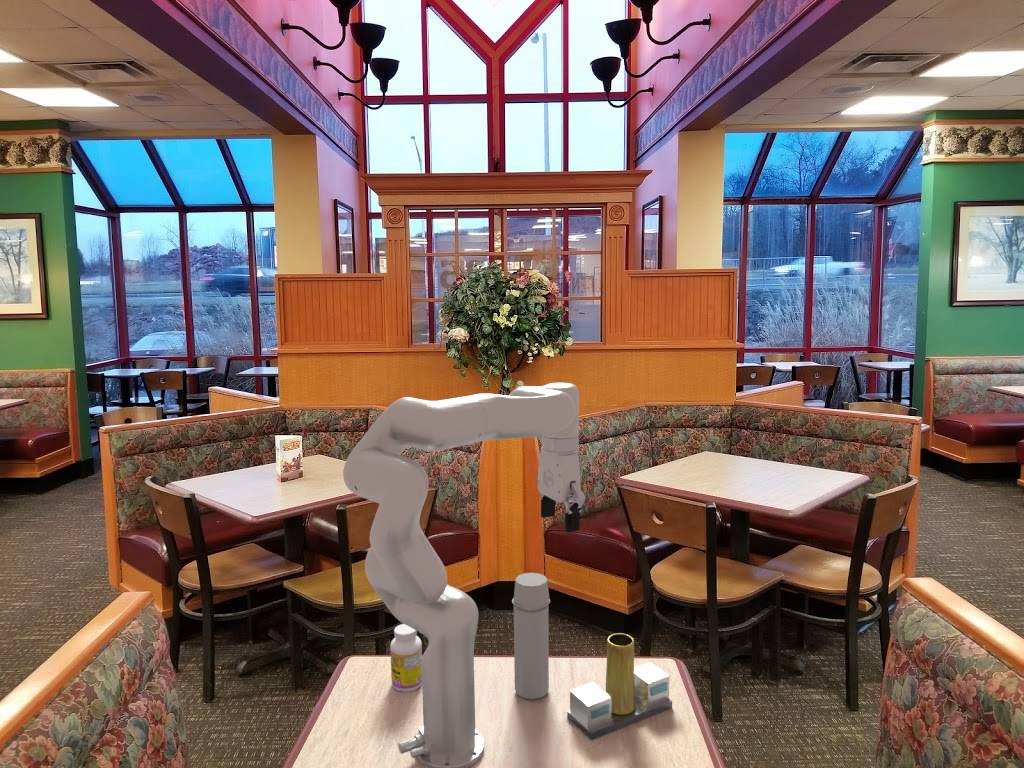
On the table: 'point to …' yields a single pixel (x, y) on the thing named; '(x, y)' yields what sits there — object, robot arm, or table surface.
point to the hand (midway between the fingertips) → (559, 523)
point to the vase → (620, 673)
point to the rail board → (623, 718)
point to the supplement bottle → (406, 659)
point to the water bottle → (531, 635)
